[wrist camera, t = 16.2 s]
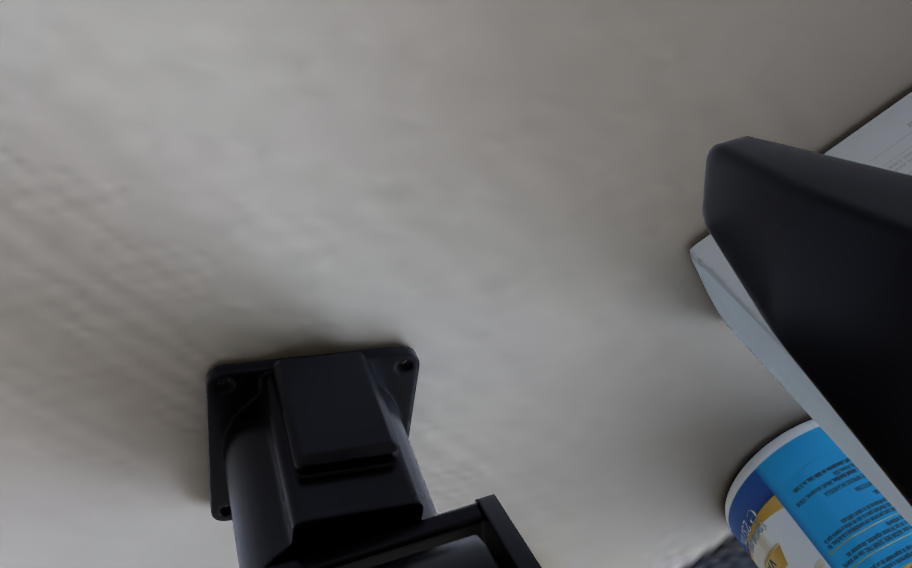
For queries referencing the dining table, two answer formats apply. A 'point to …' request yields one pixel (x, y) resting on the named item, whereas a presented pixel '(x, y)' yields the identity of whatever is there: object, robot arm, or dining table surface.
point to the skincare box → (876, 144)
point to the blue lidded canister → (813, 508)
